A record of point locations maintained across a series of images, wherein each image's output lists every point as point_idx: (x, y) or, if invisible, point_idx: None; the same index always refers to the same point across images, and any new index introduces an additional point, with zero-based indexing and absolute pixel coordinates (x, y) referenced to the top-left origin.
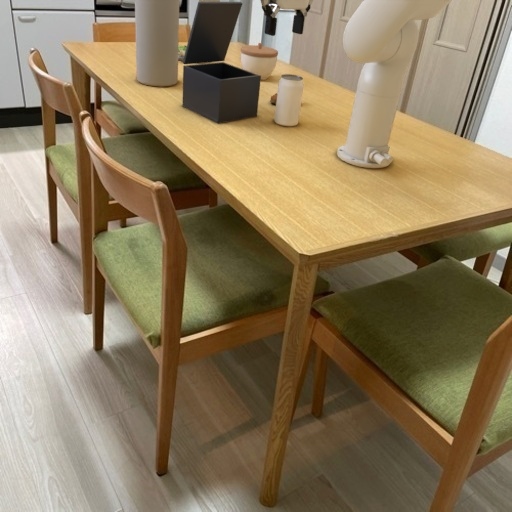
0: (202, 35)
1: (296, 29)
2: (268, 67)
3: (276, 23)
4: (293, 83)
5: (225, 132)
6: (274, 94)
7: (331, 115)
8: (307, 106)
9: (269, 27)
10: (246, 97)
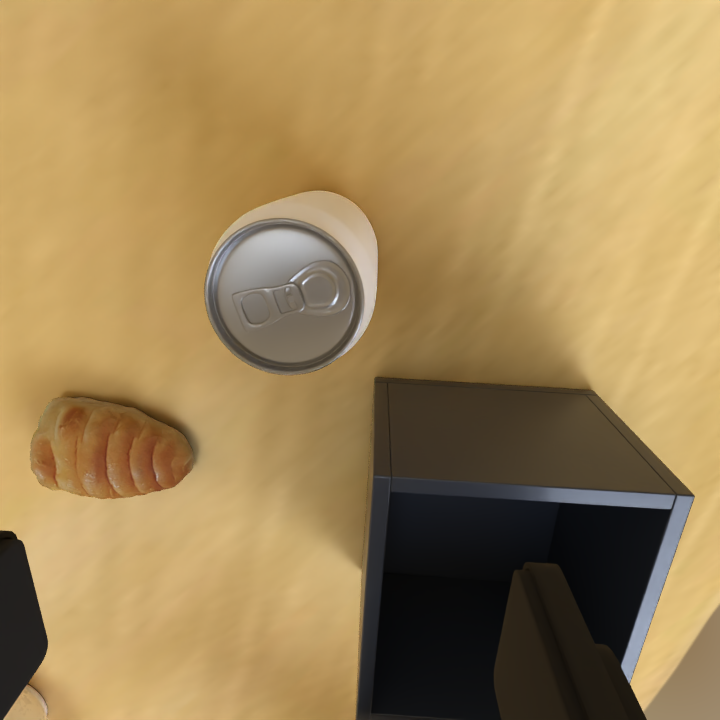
0: None
1: (8, 631)
2: None
3: (570, 714)
4: (338, 233)
5: (659, 297)
6: (151, 489)
7: (10, 215)
8: (41, 366)
9: (624, 691)
10: (461, 423)
